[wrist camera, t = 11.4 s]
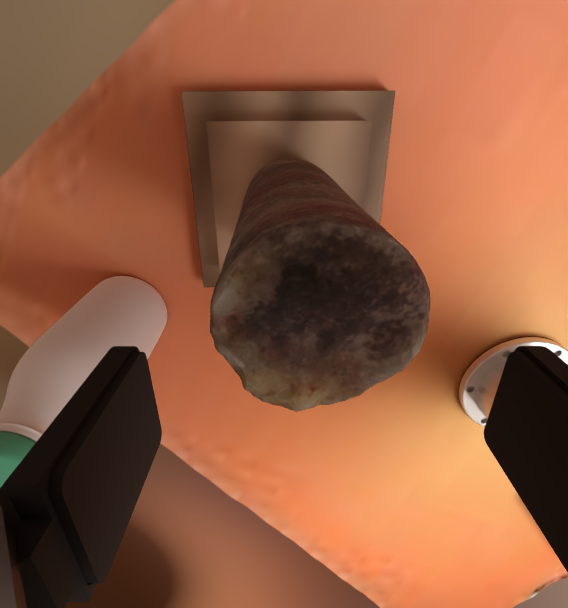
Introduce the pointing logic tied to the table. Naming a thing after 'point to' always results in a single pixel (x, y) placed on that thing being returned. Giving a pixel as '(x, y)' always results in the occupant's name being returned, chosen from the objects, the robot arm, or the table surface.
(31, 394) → the milk bottle
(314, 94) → the plinth
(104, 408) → the robot arm
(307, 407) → the dark brown rough cylinder
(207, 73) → the table surface
